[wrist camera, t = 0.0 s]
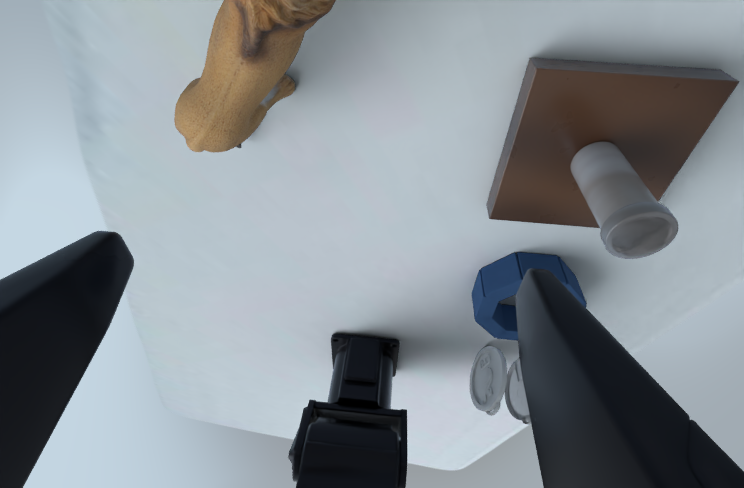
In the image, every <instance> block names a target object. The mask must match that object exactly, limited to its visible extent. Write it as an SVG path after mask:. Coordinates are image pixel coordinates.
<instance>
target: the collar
mask: <svg viewBox="0 0 744 488" xmlns="http://www.w3.org/2000/svg"><path fill="white" fill-rule="evenodd" d="M531 268H534V269H545V270H549V271H550V272H552V273H553V274H554V275H555V276H556V277H557V278H558V280H559V281H560V282H561V283H562V284H563V285H564V286H565V287H566V288H567V289H568V290H569V291H570V292H571V293H572V294H573V295H574V296H575V297H576V298H577V299H578V300H579V301H580V302H581V304H582V305H583V306H584V307H585V308H586V304H587V303H586V301H585V298H584V296H583V293H582V291H581V288H580V285H579V283H578V280H577V278H576V276H575V275H574V274H573V273H572V271H571V270H570V269H569V268H568V266H567V265H566V264H565V263H564V262H563V260H562V259H561V258H560V257H557V256H556V255H545V254H533V253H522V252H518V253H517V255H516V253H513V254H510V255H508V256H506V257H504V258H502V259H500V260H498V261H496V262H494V263H492V264H490V265H488V266H486V267H483V268H481V270H479V273H478V276H477V279H476V282H475V285H474V288H473V291H472V300H473V308H474V316H475V321H476V322H477V323H478V324H479V325H480V326H482V327H483V328H484V329H485V330H486V331H487V332H489V333H490V334H491V335H492V336H493V337H494V338H498V339H507V340H517V341H518V329H517V315H516V306H512V305H501V304H500V303H499V301H501V300H503V299H506V298H508V297H511V296H513V295H515V294H517V291H518V289H519V287H520V285H521V282H522V280H523V278H524V276H525V274H526V272H527V271H528V270H529V269H531Z"/></svg>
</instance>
